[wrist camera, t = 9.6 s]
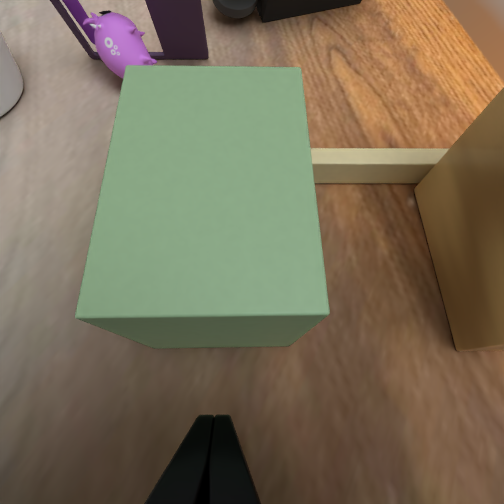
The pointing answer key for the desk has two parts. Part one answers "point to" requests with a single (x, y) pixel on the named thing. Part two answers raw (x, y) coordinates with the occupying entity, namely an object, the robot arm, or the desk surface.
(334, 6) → the character figurine
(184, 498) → the robot arm
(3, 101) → the candle
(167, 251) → the green block
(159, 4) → the game card
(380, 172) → the straightedge
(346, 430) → the desk surface
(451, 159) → the maple block
